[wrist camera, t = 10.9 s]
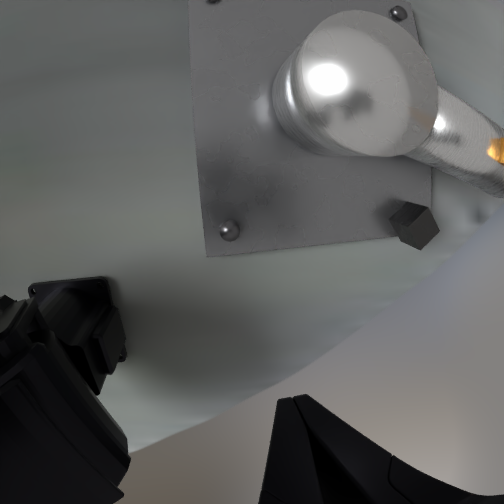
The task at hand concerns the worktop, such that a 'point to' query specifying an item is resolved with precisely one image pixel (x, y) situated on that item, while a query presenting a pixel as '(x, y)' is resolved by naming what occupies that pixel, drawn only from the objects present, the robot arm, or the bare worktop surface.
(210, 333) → the worktop surface
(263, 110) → the flange
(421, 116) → the collar
